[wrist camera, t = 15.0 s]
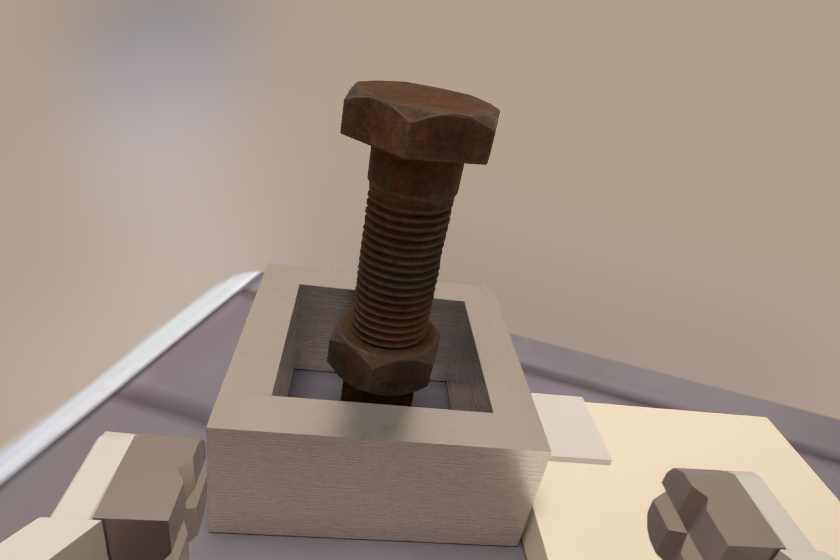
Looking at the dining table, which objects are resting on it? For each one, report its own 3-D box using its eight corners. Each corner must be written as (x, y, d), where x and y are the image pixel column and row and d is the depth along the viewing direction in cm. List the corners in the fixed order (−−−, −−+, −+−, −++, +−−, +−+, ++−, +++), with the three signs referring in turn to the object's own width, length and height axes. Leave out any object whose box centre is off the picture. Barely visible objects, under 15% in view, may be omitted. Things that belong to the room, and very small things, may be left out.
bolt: (338, 376, 29) (377, 72, 22) (434, 400, 29) (503, 98, 22) (297, 456, 24) (331, 92, 17) (413, 487, 23) (495, 126, 17)
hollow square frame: (473, 364, 32) (492, 287, 29) (517, 546, 22) (551, 451, 19) (265, 345, 30) (268, 263, 28) (208, 531, 20) (206, 427, 18)
